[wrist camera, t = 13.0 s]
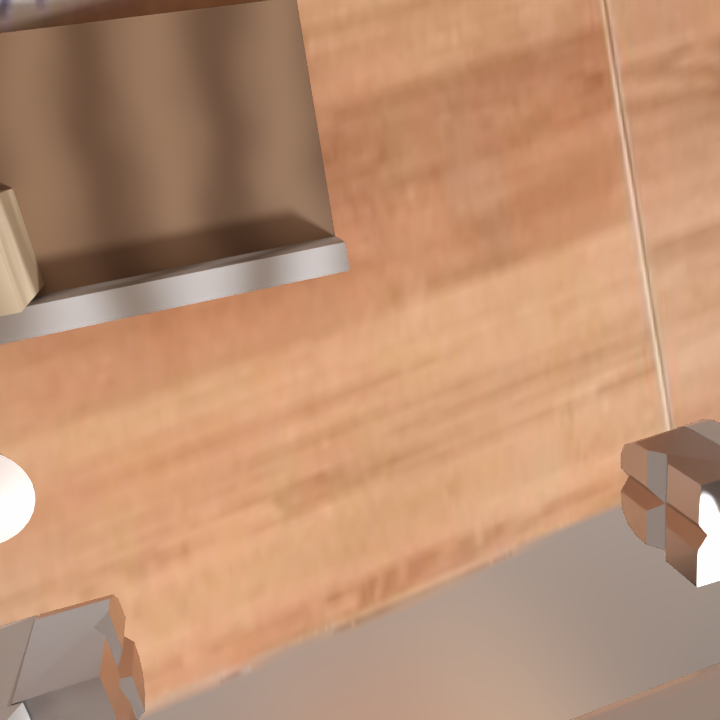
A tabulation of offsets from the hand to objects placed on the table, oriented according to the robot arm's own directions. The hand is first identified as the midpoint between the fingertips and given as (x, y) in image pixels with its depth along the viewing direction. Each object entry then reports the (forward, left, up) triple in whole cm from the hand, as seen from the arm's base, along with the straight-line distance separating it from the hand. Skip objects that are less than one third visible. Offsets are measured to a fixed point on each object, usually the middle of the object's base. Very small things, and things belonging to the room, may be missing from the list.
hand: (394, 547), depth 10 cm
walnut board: (+5, -5, -31) cm, 32 cm away
